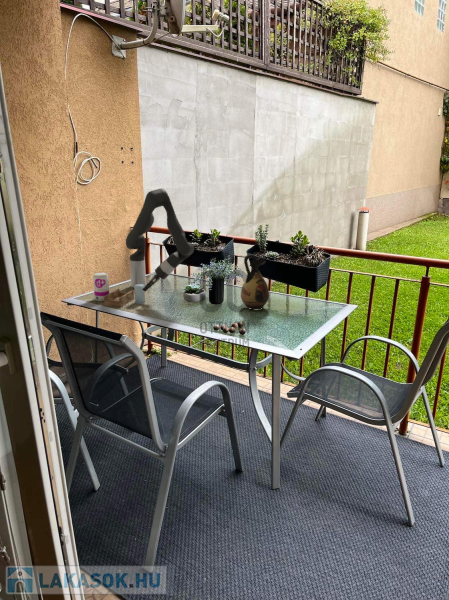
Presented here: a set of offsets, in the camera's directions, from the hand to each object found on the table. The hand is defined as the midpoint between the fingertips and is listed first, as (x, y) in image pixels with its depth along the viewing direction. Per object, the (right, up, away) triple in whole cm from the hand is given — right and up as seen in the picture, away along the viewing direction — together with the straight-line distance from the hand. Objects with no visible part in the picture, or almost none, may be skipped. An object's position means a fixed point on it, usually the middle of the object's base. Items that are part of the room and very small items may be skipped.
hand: (145, 288), depth 247 cm
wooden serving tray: (-15, -8, +3) cm, 17 cm away
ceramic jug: (+60, -11, -4) cm, 61 cm away
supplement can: (-26, -6, +7) cm, 28 cm away
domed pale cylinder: (-4, -8, +3) cm, 9 cm away
